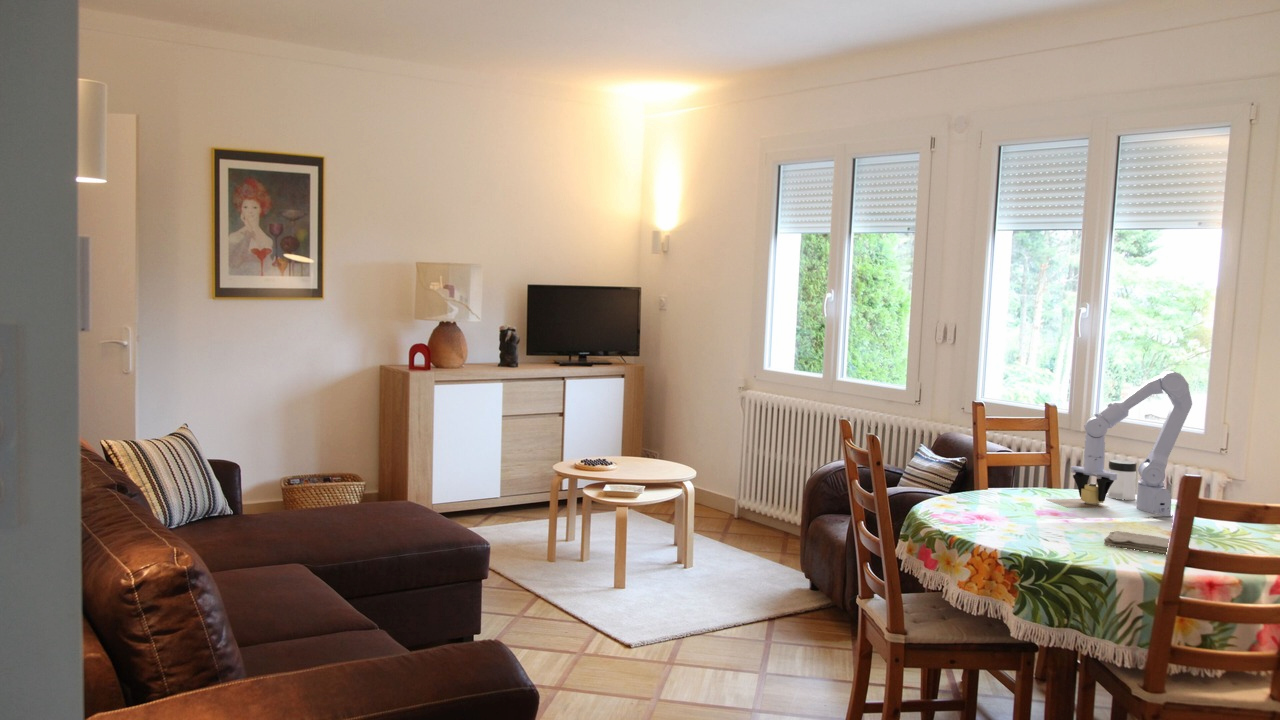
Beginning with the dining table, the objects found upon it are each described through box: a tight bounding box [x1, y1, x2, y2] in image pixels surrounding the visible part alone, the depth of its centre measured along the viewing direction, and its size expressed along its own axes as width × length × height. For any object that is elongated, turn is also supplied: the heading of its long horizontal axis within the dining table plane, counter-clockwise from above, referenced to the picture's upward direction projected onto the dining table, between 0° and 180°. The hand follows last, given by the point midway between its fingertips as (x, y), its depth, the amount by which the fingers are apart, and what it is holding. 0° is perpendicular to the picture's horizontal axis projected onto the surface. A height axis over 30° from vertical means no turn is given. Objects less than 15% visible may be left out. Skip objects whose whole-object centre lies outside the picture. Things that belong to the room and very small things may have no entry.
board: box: [1045, 498, 1109, 509], centre depth 300 cm, size 12×14×1 cm
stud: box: [1085, 502, 1100, 506], centre depth 299 cm, size 4×4×4 cm
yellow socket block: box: [1080, 482, 1104, 504], centre depth 299 cm, size 5×5×6 cm
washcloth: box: [1103, 530, 1170, 556], centre depth 252 cm, size 12×18×3 cm, turn 55°
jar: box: [1106, 459, 1137, 501], centre depth 315 cm, size 9×8×12 cm
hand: (1092, 499), depth 299 cm, fingers closed on yellow socket block, 6 cm apart
